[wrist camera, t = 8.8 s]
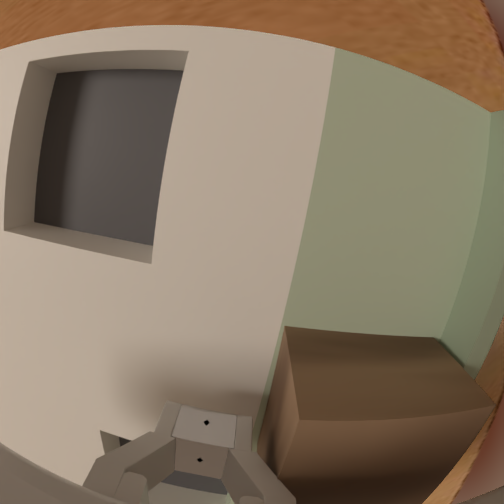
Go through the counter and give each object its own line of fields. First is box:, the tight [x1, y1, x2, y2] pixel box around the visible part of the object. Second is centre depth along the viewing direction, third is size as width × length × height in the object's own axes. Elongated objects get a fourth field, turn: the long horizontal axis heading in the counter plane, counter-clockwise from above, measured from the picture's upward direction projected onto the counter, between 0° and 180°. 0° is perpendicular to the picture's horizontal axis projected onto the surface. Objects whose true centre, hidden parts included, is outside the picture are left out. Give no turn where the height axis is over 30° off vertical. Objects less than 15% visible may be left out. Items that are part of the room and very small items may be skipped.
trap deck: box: [0, 25, 504, 504], centre depth 11 cm, size 25×27×4 cm
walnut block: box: [257, 326, 496, 504], centre depth 9 cm, size 6×6×4 cm
